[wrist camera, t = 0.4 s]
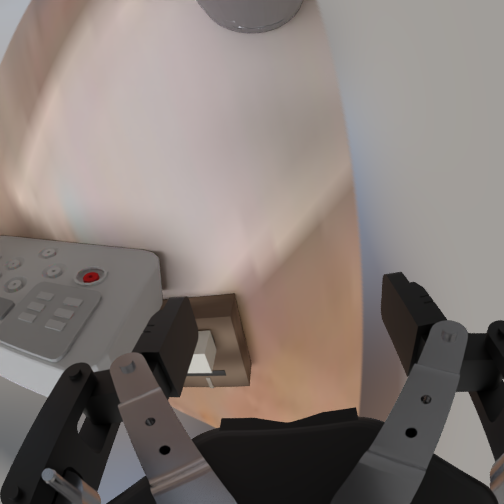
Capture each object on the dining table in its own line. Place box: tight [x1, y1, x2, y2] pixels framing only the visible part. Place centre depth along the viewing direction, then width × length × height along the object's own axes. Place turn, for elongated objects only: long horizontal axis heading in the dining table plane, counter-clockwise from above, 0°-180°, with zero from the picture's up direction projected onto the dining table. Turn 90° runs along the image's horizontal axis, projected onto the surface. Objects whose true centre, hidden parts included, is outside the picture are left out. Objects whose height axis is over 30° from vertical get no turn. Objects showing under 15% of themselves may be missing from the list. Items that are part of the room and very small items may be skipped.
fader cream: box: [188, 330, 217, 373], centre depth 31 cm, size 3×3×4 cm
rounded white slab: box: [0, 236, 163, 397], centre depth 26 cm, size 29×8×18 cm, turn 86°
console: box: [160, 294, 251, 388], centre depth 37 cm, size 12×20×4 cm, turn 99°
